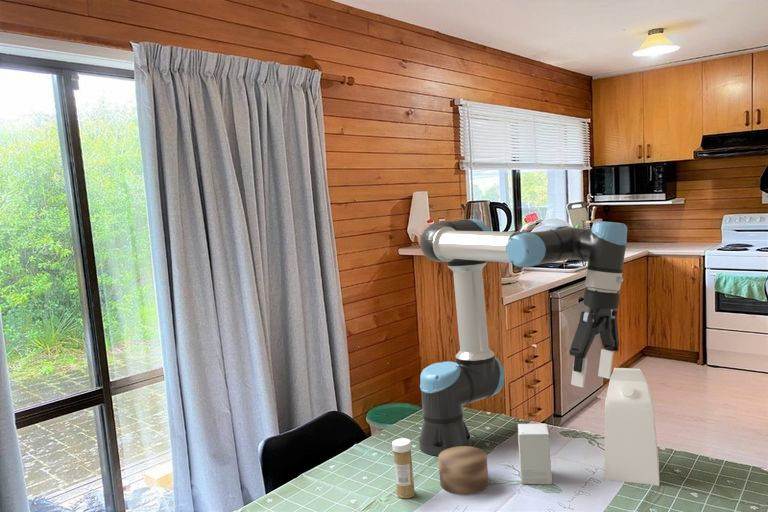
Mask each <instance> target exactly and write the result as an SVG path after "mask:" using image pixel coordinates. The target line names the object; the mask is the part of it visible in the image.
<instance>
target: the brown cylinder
mask: <svg viewBox="0 0 768 512" xmlns="http://www.w3.org/2000/svg"><path fill="white" fill-rule="evenodd" d="M487 456H488V455H487V453H486V452H485V450H483V449H481V448H478V447H476V446H471V447H470V446H458V447H452V448H448V449H446V450H444V451H442V452H441V453H440V454H439V456H437V458H438V471H439V472H438V473H439V484H440V487H441V488H442V490H444V491H446V492H448V493H450V494H455V495H462V496H463V495H465V496H466V495H474V494H478V493H480V492H483V491H484V490H486V489H487V487H488V486H489V485H490V484H489V471H488V457H487Z"/></svg>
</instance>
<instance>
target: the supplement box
mask: <svg viewBox="0 0 768 512" xmlns="http://www.w3.org/2000/svg"><path fill="white" fill-rule="evenodd" d="M517 440H518V441H517V442H518V456H519V458H518V459H519V469H520V471H519V472H520V479H521V480H520V481H521V484H522V485H552V484H553V479H552V465H551V463H552V461H551V460H552V459H551V447H550V433H549V428H548V425H547V423H517Z"/></svg>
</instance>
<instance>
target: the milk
mask: <svg viewBox="0 0 768 512" xmlns="http://www.w3.org/2000/svg"><path fill="white" fill-rule="evenodd" d="M605 396H606V397H605V401H604V480H608V481H617V482H627V483H633V484H642V485H651V486H659V487H660V463H659V462H660V461H659V451H658V441H657V439H658V438H657V430H656V429H657V428H656V418H655V405H654V397H653V391H652V389H651V387H650V385H649V382H648V381H647V379H646V377H645V375H644V373H643V371H642V370H641V368H629V367H627V368H626V367H614V368H613V370H612V372H611V378H610V379H609V383H608V387H607V391H606V395H605Z"/></svg>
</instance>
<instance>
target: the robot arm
mask: <svg viewBox="0 0 768 512" xmlns="http://www.w3.org/2000/svg"><path fill="white" fill-rule="evenodd" d="M627 239H628V226H627V225H626V224H625V223H622V222H613V221H600V220H597V221H596V220H595V221H594V222H593V223H592V226H591V228H579V227H572V226H566V225H565V226H563V225H562V226H552V227H551V228H550V229H548V230H542V231H491V229H490V228H489V226H488V225H486V223H485V222H484V221H482V220H480V219H475V218H473V219H472V218H468V219H467V218H464V219H456V220H449V221H440V222H435V223H432V224H431V225H429V226H427V227H426V228H425V229H424V230H423V232H422V233H421V236H420V240H419V241H420V242H419V245H420V250H421V252H422V254H423V255H424V256H425V257H426V258H427V259H428V260H430V261H432V262H437V263H444V262H445V263H446V265H447V268H448V269H449V270H451V271H452V274H453V284H454V295H455V307H456V317H457V318H456V321H457V328H458V329H457V330H458V341H459V351H458V352H457V353H456V354H455V362H454V361H442V362H435V363H432V364H430V365H427V366H426V367H425V368H423V369H422V371H421V373H420V384H419V388H420V394H421V408H422V409H421V410H422V418H423V419H422V425H421V430H420V433H419V437H418V446H419V449H420V451H422V452H423V453H425V454H428V455H431V456H435V457H436V456H437V457H438V456H439V454H440V453H441V452H442V451H444V450H446V449H448V448H452V447H458V446H470V447H472V436H471V433H470V431H469V428H468V425H467V423H466V422H465V418H464V406H465V405H469V404H471V403H475V402H478V401H481V400H485V399H489V398H491V397H492V396H494V395H497V394H498V393H499V392H500V391H501V390H502V389H503V386H504V385H505V374H506V373H505V370H504V366H503V365H502V364H501V361H500V360H499V359H498V358H497V357H496V356H495V352H494V351H493V350H491V349H490V346H489V338H488V337H489V335H488V325H487V324H488V323H487V312H486V301H485V299H486V298H485V289H484V277H483V268H484V267H485V266H486V265H487V263H488V262H496V263H508V264H513V265H514V266H515V267H520V268H529V267H530V268H531V267H535V266H538V265H543V264H544V265H545V264H551V263H556V262H562V261H568V260H577V261H583V262H587V269H586V275H585V277H586V278H585V284H584V285H585V287H587V288H586V289H584V291H583V292H584V294H583V301H582V302H583V305H584V306H587V307H588V311H587V312H586V311H581V312H580V317H579V322H578V325H577V328H576V331H575V332H574V333H575V334H574V336H573V339H572V342H571V345H570V348H569V350H568V351H569V352H568V353H569V355H570V356H573V363H572V373H571V380H570V381H571V382H570V385H572V386H575V387H579V388H585V381H586V374H587V373H586V372H587V365H588V358H587V357H586V356H587V354H588V352H589V350H590V348H591V346H592V344H593V341H594V340H595V338H596V335H599V337H600V340H601V344H602V347H603V348H602V349H601V350H600V357H599V365H598V372H597V373H598V374H597V377H601V378H605V379H608V380H610V378H611V375H612V371H613V370H612V368H613V360H614V352H615V353H616V352H619V350H620V349H619V347H620V341H619V339H620V338H619V329H618V328H619V327H618V308H619V305H620V299H621V298H620V297H621V294H620V292H619V291H620V290H621V287H622V282H624V278H623V270H624V269H623V268H624V261H625V254H626V250H627V249H626V248H627V245H628V242H627Z"/></svg>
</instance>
